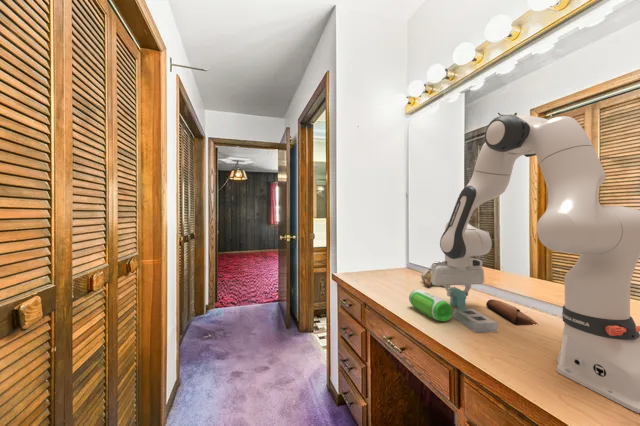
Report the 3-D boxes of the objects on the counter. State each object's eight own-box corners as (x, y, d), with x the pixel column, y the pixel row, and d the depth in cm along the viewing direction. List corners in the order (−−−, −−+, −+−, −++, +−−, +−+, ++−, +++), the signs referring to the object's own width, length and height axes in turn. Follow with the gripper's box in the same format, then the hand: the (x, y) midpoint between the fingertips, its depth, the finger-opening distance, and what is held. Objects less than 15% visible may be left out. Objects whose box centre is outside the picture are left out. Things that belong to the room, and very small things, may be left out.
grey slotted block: (497, 331, 90) (497, 322, 90) (475, 332, 89) (475, 323, 89) (472, 316, 103) (472, 308, 102) (454, 317, 102) (453, 309, 102)
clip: (466, 310, 109) (466, 292, 109) (460, 311, 108) (460, 292, 108) (455, 304, 117) (455, 287, 117) (449, 304, 116) (449, 287, 116)
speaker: (454, 322, 98) (453, 300, 98) (435, 324, 97) (435, 302, 97) (424, 306, 115) (423, 287, 115) (408, 307, 114) (407, 289, 114)
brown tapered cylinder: (541, 324, 94) (530, 307, 94) (523, 335, 94) (512, 318, 94) (507, 306, 112) (498, 292, 112) (492, 316, 112) (483, 301, 112)
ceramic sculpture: (435, 265, 155) (449, 272, 140) (435, 280, 155) (448, 289, 140) (416, 265, 154) (427, 273, 139) (416, 281, 155) (427, 290, 140)
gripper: (435, 263, 109) (435, 299, 109) (486, 261, 110) (487, 297, 110) (427, 260, 115) (428, 294, 115) (476, 258, 116) (477, 292, 116)
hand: (457, 295), depth 112 cm, fingers open, 5 cm apart
